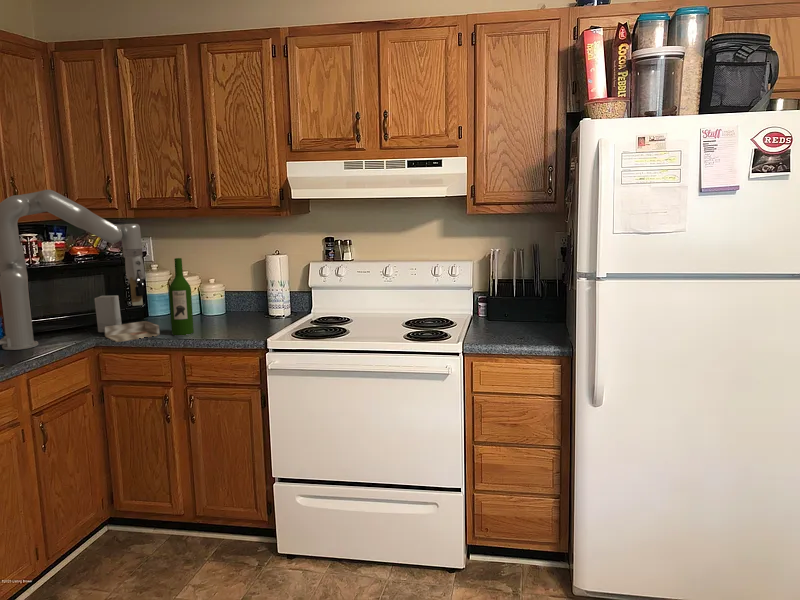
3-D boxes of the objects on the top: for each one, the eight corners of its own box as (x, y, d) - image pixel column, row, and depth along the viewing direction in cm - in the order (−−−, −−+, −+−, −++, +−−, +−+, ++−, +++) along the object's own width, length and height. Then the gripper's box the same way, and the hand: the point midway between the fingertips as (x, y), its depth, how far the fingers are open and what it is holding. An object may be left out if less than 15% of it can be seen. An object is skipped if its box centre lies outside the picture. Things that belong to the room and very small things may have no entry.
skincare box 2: (131, 303, 292) (129, 275, 291) (142, 302, 294) (140, 274, 292) (132, 306, 287) (129, 277, 285) (143, 305, 288) (140, 276, 286)
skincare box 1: (122, 329, 304) (119, 295, 302) (115, 332, 298) (112, 297, 295) (104, 329, 305) (101, 295, 302) (96, 332, 298) (93, 297, 296)
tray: (116, 342, 278) (115, 331, 277) (105, 337, 288) (104, 326, 288) (159, 335, 290) (159, 325, 289) (147, 330, 300) (146, 320, 299)
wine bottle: (172, 336, 288) (166, 259, 283) (172, 332, 296) (167, 257, 291) (194, 334, 290) (189, 258, 285) (193, 330, 299) (188, 257, 294)
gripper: (149, 253, 283) (153, 295, 286) (134, 251, 296) (137, 291, 299) (131, 255, 278) (135, 298, 281) (116, 252, 291) (120, 293, 294)
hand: (136, 294), depth 290 cm, fingers closed on skincare box 2, 7 cm apart
